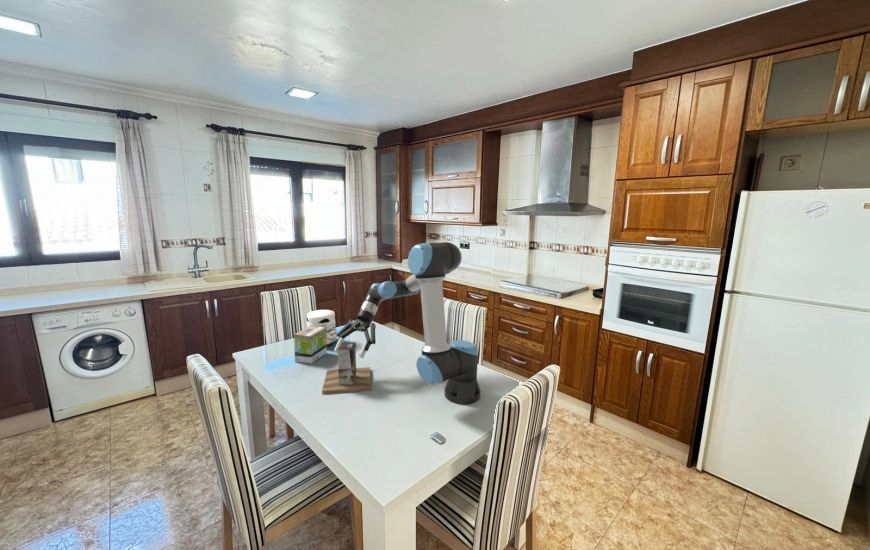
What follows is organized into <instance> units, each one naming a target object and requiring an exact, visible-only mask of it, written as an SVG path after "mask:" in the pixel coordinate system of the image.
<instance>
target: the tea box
mask: <svg viewBox="0 0 870 550" xmlns="http://www.w3.org/2000/svg"><path fill="white" fill-rule="evenodd" d="M293 339H294V340H293V341H294V342H293V343H294V347H293V348H294V362H295V363H302V364H313V363H314V362H316V361H317V360H318V359H320V358H321V357H322V356H324V355H326V354H327V350H328V349H327V346H326V328H325V327H315V326H309V327H307V326H306V328H303V329H302V330H300V331H298V332H296V333H295V334H294V336H293Z"/></svg>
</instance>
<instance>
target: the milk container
mask: <svg viewBox="0 0 870 550" xmlns="http://www.w3.org/2000/svg"><path fill="white" fill-rule="evenodd" d="M335 313H336V312H335V311H334V310H330V309H317V310H313V311H310V312H307V314H306V328H307V327H309V326H315V327H325V328H326V347H327V346H330V345H332V344H334V343H336V342H337V340H338V336H337V335H336V334H337V333H338V329H337V328H336V314H335Z"/></svg>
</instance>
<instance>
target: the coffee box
mask: <svg viewBox="0 0 870 550" xmlns="http://www.w3.org/2000/svg"><path fill="white" fill-rule="evenodd" d="M356 348H357V347H356V342H355V341H354V342H343V343H341V345H340V347H339V349H338V353H337V368H338V374H339V385H352V384H353V383H354V380H355V377H356V368H357V356H356V355H357V349H356Z"/></svg>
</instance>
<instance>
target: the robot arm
mask: <svg viewBox="0 0 870 550" xmlns="http://www.w3.org/2000/svg"><path fill="white" fill-rule="evenodd" d="M462 260H463V259H462V252H461V250H460V248H459V247H458V246H457V245H455V244H454V243H451V242H447V241H443V242H424V243H418V244H415V245H414V246H412V248H411V250H410V251H409V253H408V258H407V266H408V267H407V268H408V269H409V271H410V273H411V275H410V276H409V277H406V279H405V280H400V281H391V280H387V281H386V280H385V281H383V282H382V283H378V282H377V283H376V282H375V283H373V284H371V286H370V288H369V289H368V291H367V294H366V295H365V299H364V301H363V302H362V304H361V306H360V310H359V312H358V313H357V315H356V318H355V320H353V319H352V318H350V319H349V320H348V322H347V323H346V324H345V325H344V326H343V327H342V328H341V329H340V330H339V331H337V334H336V335H337V340H336V341H335V343H336V345H335V348H334V349H333V351H334V352H335V353H336V354H338V349H339V347H340V345H341V343H345V342H344V341H345V340H344V339H346V338H347V337H349V336H350V335H352V334H353V333H355V332H361V333H364V336H365V340H366V342H364V343H363V346H362V348H361V350H360V352H359V354H358V355H359V357H360V358H361V359H364V357H365V355H366V353H367V352H368V351H369V349H370V347H371V345H375V344H376V328H377V324H376V323H375V322H373V321H374V319H375V316H376V314H377V311H378V309H379V307H380V304H381V303H382V302H384V301H386V300H388V299H395V298H396V299H397V298H400V297H408V296H414V295H418V294H419V292H420V301H421V312H422V324H423V335H424V336H423V337H424V338H423V339H424V345H422V347H421V355H419V356H418V357H417V359H416V369H417V372H418V374H419V377H420V378H421V379H422V381H424V382H425V383H426V384H427V385H432V386H433V385H434V386H435V385H436V384H441V383H443V382H445V381H446V384H445V387H444V392H443V394H444V397H445V398H446V400H448V401H450V402H452V403H455V404H458V405H461V404H462V405H469V404H473V403H476V402H477V401H479V400H480V398H481V388H480V385H479V380H478V359H479V347H478V346H477V345H476V344H475V343H474V342H471V341H467V340H463V339H456V340H455V339H453V340H451V341H450V343H448V341H447V339H448V338H447V328H446V315H445V314H446V313H445V312H446V311H445V304H444V303H445V302H444V289H443V281H444V279H446V275H447V274H451V272H453V271H455V270H457V269H458V267H460V265H461V262H462ZM369 328H370V333H369V330H368V329H369Z"/></svg>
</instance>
